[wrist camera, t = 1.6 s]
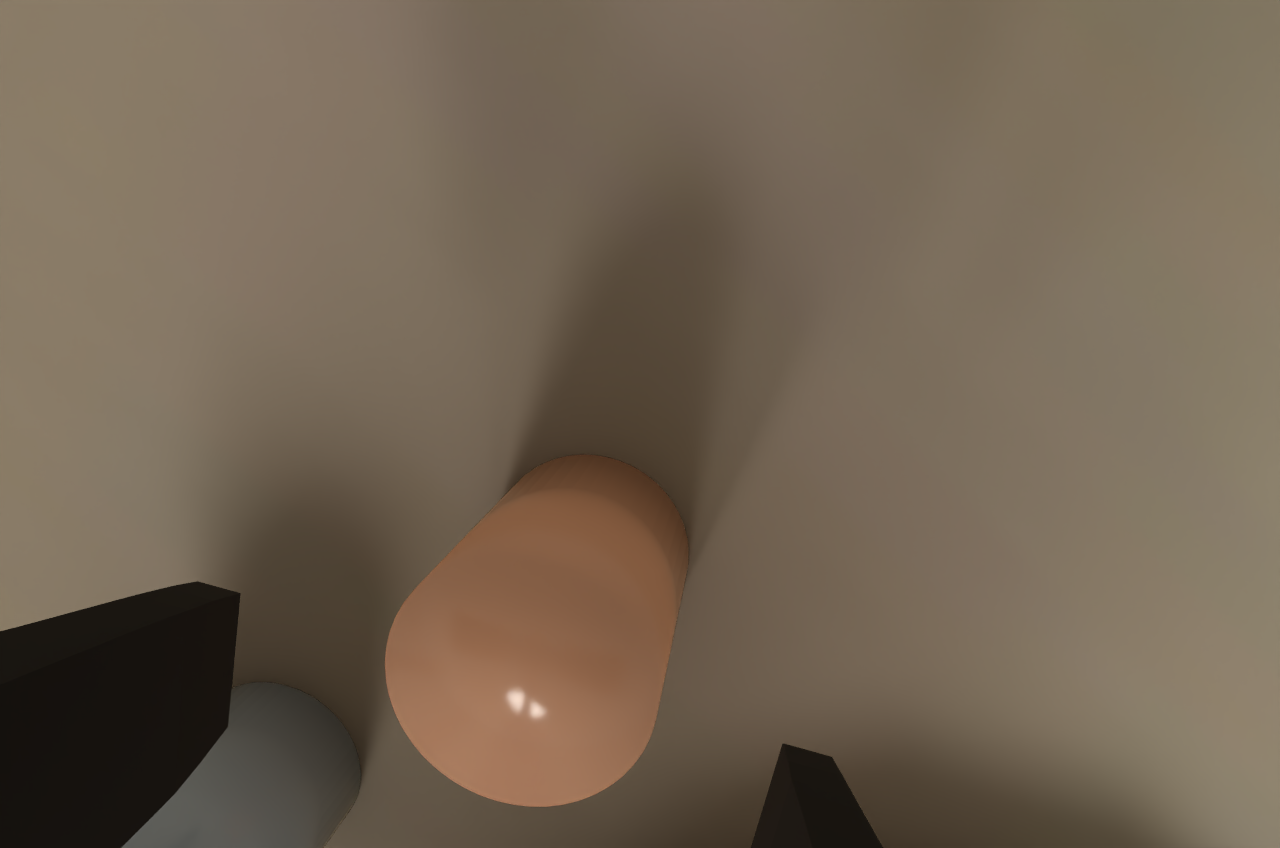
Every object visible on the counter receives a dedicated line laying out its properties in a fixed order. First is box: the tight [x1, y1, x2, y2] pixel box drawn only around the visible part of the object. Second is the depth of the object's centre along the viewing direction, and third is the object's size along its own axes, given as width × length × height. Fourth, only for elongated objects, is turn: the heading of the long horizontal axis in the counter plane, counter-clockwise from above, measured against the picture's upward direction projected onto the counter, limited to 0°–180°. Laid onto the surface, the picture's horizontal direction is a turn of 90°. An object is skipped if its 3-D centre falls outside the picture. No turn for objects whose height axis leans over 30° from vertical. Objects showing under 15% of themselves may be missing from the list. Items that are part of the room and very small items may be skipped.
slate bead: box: [122, 682, 361, 848], centre depth 16 cm, size 4×4×5 cm
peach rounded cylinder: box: [385, 455, 689, 807], centre depth 14 cm, size 4×4×5 cm
